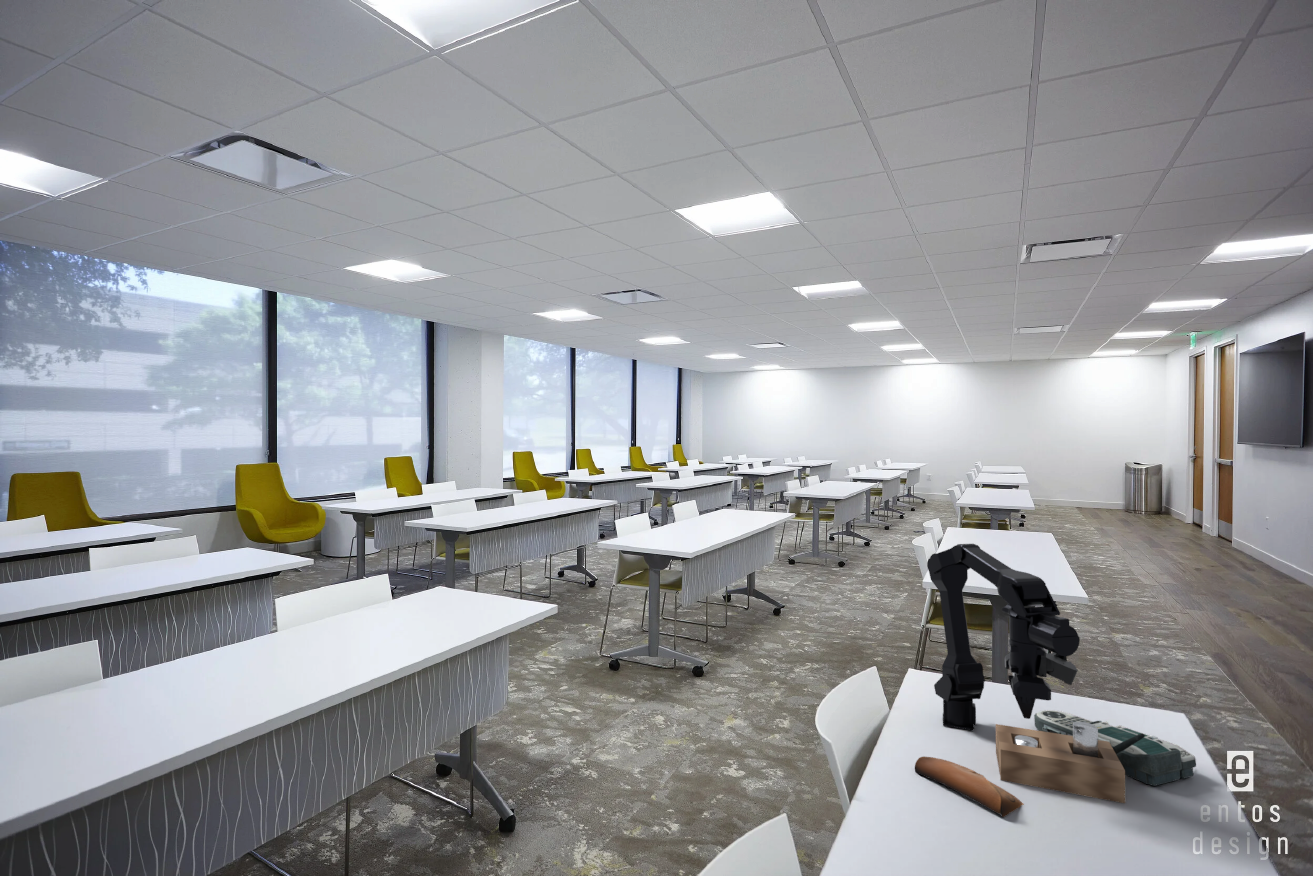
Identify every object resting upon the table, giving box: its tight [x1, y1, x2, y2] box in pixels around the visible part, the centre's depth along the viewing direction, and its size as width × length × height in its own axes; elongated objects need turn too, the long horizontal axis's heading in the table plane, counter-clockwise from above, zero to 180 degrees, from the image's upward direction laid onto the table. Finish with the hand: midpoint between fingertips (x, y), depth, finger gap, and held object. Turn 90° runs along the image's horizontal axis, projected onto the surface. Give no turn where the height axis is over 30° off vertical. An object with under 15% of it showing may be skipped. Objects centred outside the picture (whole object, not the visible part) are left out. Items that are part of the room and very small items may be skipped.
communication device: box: [1033, 709, 1197, 787], centre depth 135 cm, size 14×28×10 cm, turn 18°
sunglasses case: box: [914, 755, 1025, 818], centre depth 121 cm, size 18×7×7 cm
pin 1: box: [1015, 735, 1038, 748], centre depth 127 cm, size 4×4×6 cm
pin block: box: [995, 723, 1126, 804], centre depth 125 cm, size 20×12×6 cm, turn 66°
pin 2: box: [1073, 722, 1098, 758], centre depth 123 cm, size 4×4×6 cm
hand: (1026, 718), depth 127 cm, fingers closed
